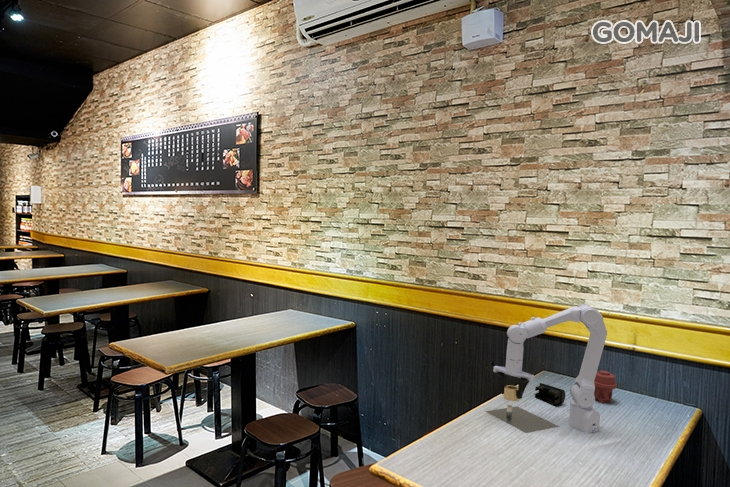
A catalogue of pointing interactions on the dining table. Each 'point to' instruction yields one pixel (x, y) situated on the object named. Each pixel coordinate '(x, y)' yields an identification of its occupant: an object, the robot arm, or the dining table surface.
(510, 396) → the bronze hub
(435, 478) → the dining table surface
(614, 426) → the dining table surface
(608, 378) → the mechanical component
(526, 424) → the shaft stand
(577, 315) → the robot arm
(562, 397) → the end cap
